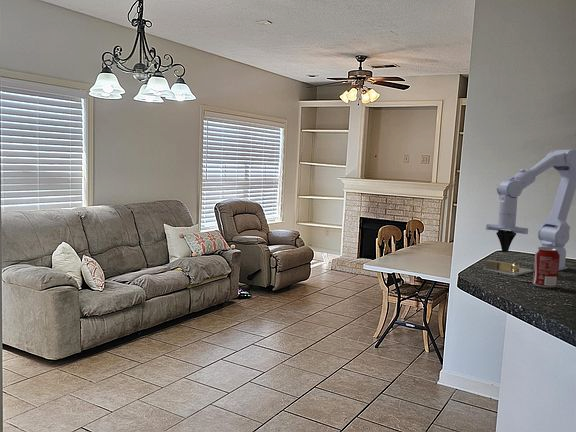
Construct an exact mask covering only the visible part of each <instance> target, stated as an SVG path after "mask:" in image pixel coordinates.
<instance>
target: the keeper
mask: <svg viewBox="0 0 576 432" xmlns="http://www.w3.org/2000/svg"><path fill="white" fill-rule="evenodd" d="M485 262H486V263H485V264H486V265H485V267H486V269H492V270H500V271H506V272H507V270H502V269H498V264H499V263H495V262H489V261H487V260H486V261H485Z"/></svg>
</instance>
